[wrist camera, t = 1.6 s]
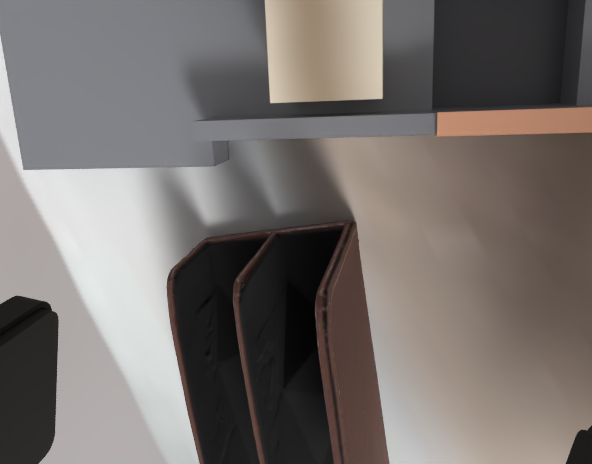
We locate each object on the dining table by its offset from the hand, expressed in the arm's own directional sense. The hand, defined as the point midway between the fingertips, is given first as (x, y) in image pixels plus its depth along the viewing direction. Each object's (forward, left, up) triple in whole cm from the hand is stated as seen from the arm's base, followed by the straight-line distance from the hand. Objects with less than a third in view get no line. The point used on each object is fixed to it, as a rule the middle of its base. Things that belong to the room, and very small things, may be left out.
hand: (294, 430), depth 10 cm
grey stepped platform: (+3, -8, -24) cm, 26 cm away
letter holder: (+4, +13, -25) cm, 28 cm away
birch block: (+1, -8, -22) cm, 23 cm away
